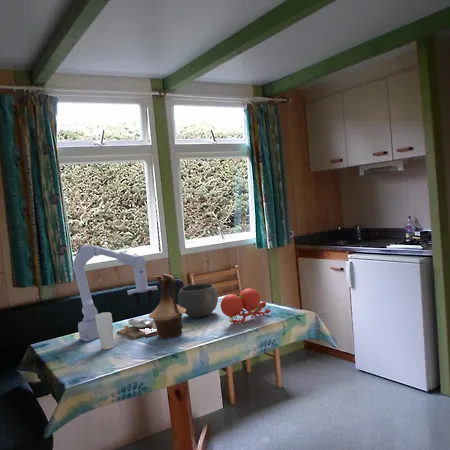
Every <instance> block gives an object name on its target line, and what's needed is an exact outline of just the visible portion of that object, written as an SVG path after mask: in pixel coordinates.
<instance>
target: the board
mask: <svg viewBox="0 0 450 450" xmlns="http://www.w3.org/2000/svg"><path fill="white" fill-rule="evenodd" d="M151 320H152V321H153V325H152V326H150V327H147V328H149V329H152V328H153V329H157V328H156V324H155V322H154V319H151ZM128 329H129V332H128V333H125V328H122V329H119V330H116V334H117V335H121V336H123V337H126V338H129V339H130V338H131V339H133V340H138V339H141V338H143V337H146V336H145V332H142V331H140V330H139V329H137V328H134V326H133V325H130V326H128ZM140 329H145V328H140ZM151 331H152V330H151Z"/></svg>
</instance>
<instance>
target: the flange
mask: <svg viewBox="0 0 450 450" xmlns="http://www.w3.org/2000/svg"><path fill="white" fill-rule="evenodd" d="M152 320H153V319H142V320H140V319H134V318H131V319H128V326H134V328H137V329H140V328H147V327H150V326H152V325H153V321H152Z"/></svg>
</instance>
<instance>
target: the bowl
mask: <svg viewBox="0 0 450 450" xmlns="http://www.w3.org/2000/svg"><path fill="white" fill-rule="evenodd" d="M177 302H178V303H177V304H178V305H179V306H181V307H183V308H185V309H186V312H185V313H184V314H185V315H187V316H188V317H192V318H202V317H206V316H208V315H210V314H211V313H213V312H214V311H215V309H216V307H217V306H218V302H219V294H218V291H217V288H216V287H215V285H214V284H211V283H195V284H194V283H193V284H188V285H185V286H183V287H181V288H180V289H179V292H178V295H177Z"/></svg>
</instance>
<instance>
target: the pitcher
mask: <svg viewBox="0 0 450 450" xmlns="http://www.w3.org/2000/svg"><path fill="white" fill-rule="evenodd" d="M152 278H153V279H156V280H157V281H158V282H159V285H160V292H161V293H160V295H161V297H160V300H159V303H158V305H157V306H156V308H155V309H153V311H152V312H150V313H149V315H148V318H150V319H151V320H154V322H155V324H156V328H157V331H158V332H157V337H158V338H159V339H171V338H177V337H179V336H181V335H182V334H183V331H182V330H183V329H182V328H183V327H182V323H183V322H182V319H183V314H185V312H186V309H185V308H183V307H181V306H179V304H178V303H177V297H176V296H177V282H176V279H175V277H174V276H173V275H171V274H167V273H163V274H159V275H155V276H152ZM171 284H172V285H171ZM170 285H171V288H172V290H171V291H172V297H171V293H170Z"/></svg>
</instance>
